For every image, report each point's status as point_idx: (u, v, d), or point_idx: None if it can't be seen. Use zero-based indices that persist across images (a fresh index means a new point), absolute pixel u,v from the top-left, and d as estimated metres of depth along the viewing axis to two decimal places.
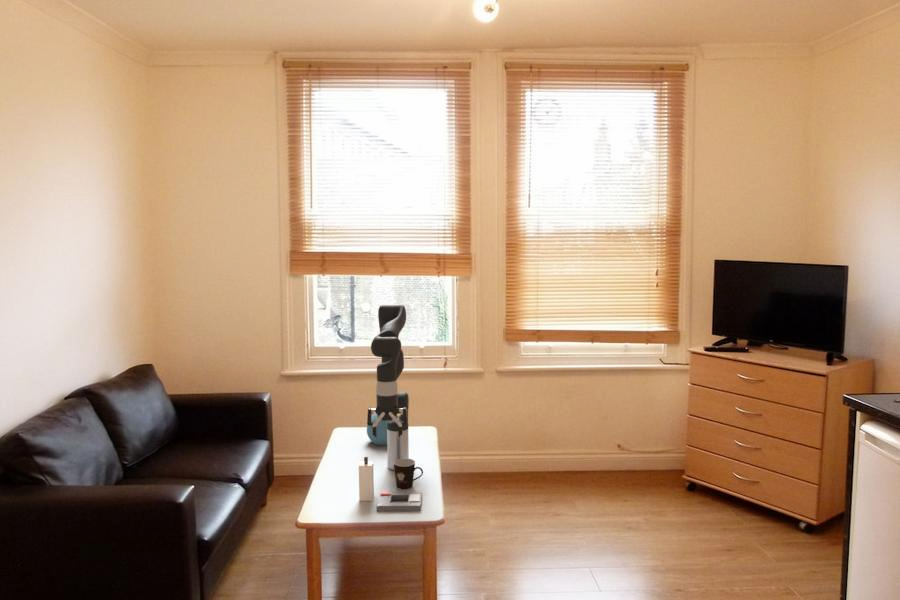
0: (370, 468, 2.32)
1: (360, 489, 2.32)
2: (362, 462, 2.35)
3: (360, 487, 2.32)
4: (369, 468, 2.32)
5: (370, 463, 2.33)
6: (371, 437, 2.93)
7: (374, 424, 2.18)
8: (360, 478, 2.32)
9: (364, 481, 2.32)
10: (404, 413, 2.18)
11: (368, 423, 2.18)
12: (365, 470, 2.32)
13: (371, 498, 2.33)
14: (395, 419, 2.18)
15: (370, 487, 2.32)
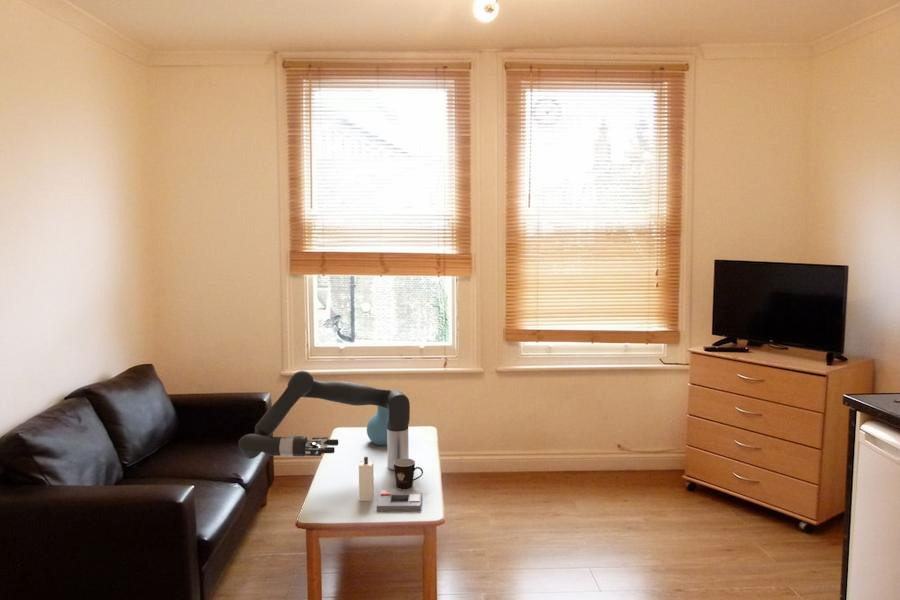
0: (370, 468, 2.32)
1: (360, 489, 2.32)
2: (362, 462, 2.35)
3: (360, 487, 2.32)
4: (369, 468, 2.32)
5: (370, 463, 2.34)
6: (371, 437, 2.93)
7: None
8: (360, 478, 2.32)
9: (364, 481, 2.32)
10: None
11: None
12: (365, 470, 2.32)
13: (371, 498, 2.33)
14: None
15: (370, 487, 2.32)
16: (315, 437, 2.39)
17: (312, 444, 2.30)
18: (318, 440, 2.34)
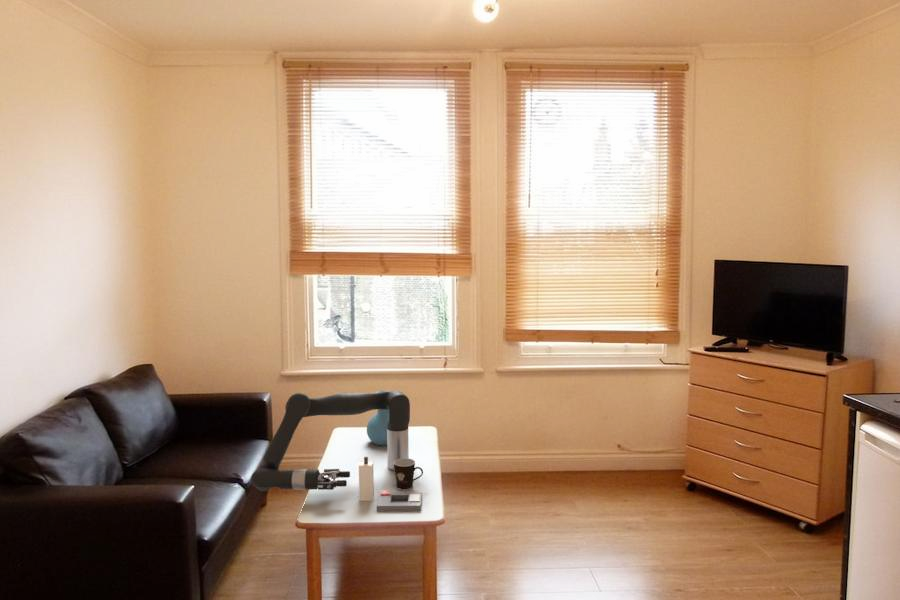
0: (370, 468, 2.32)
1: (360, 489, 2.32)
2: (362, 462, 2.35)
3: (360, 487, 2.32)
4: (369, 468, 2.32)
5: (370, 463, 2.34)
6: (371, 437, 2.93)
7: None
8: (360, 478, 2.32)
9: (364, 481, 2.32)
10: None
11: None
12: (365, 470, 2.32)
13: (371, 498, 2.33)
14: None
15: (370, 487, 2.32)
16: (327, 469, 2.40)
17: (324, 477, 2.32)
18: (330, 473, 2.36)
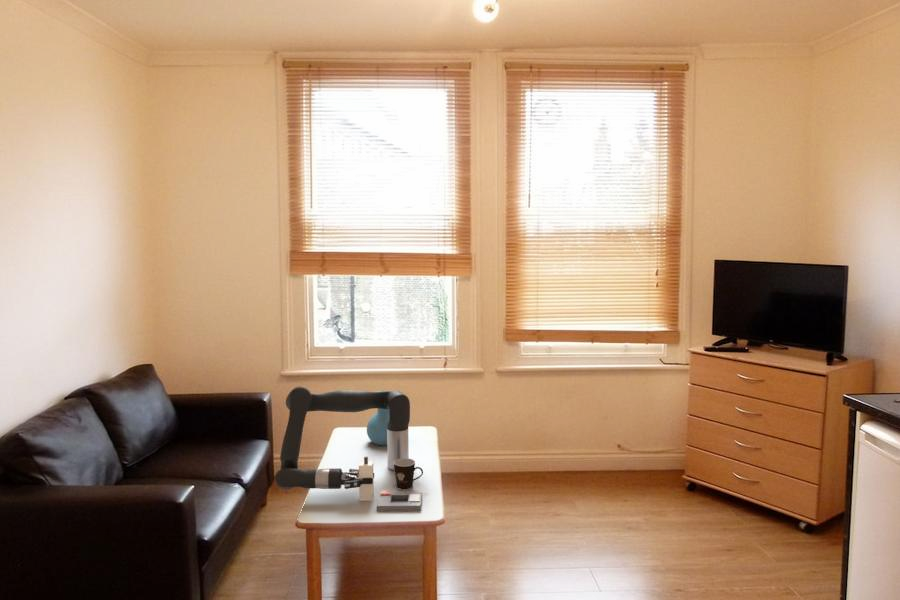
0: (370, 468, 2.32)
1: (360, 489, 2.32)
2: (362, 462, 2.35)
3: (360, 487, 2.32)
4: (369, 468, 2.32)
5: (370, 463, 2.34)
6: (371, 437, 2.93)
7: None
8: None
9: None
10: None
11: None
12: (365, 470, 2.32)
13: (371, 498, 2.33)
14: None
15: (370, 487, 2.32)
16: (352, 469, 2.40)
17: (348, 476, 2.32)
18: (353, 473, 2.35)
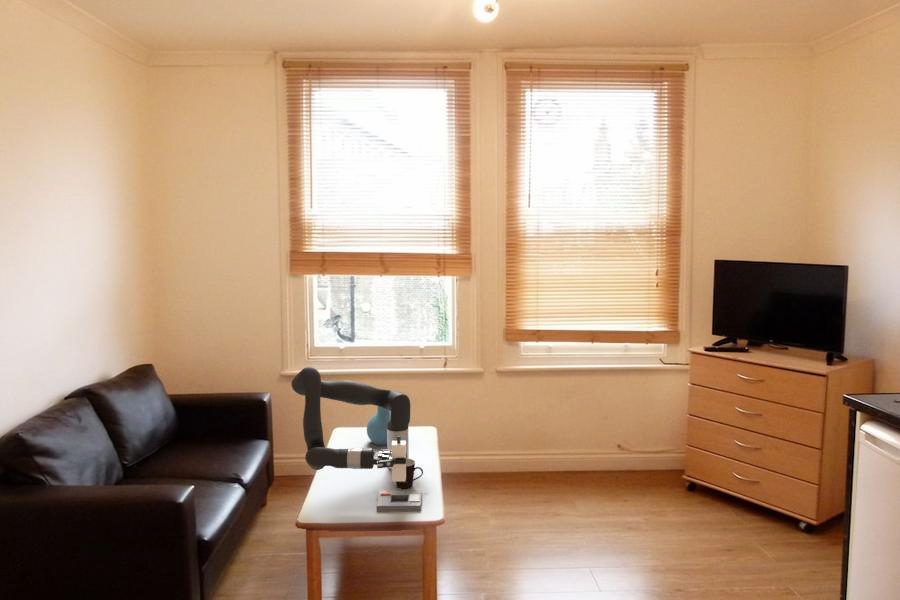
0: (403, 447, 2.26)
1: (393, 469, 2.27)
2: (395, 441, 2.29)
3: (393, 467, 2.26)
4: (402, 447, 2.26)
5: (403, 442, 2.28)
6: (371, 437, 2.93)
7: None
8: None
9: None
10: None
11: None
12: (398, 449, 2.26)
13: (404, 478, 2.27)
14: None
15: (403, 467, 2.26)
16: (383, 449, 2.34)
17: (381, 456, 2.26)
18: (385, 453, 2.29)
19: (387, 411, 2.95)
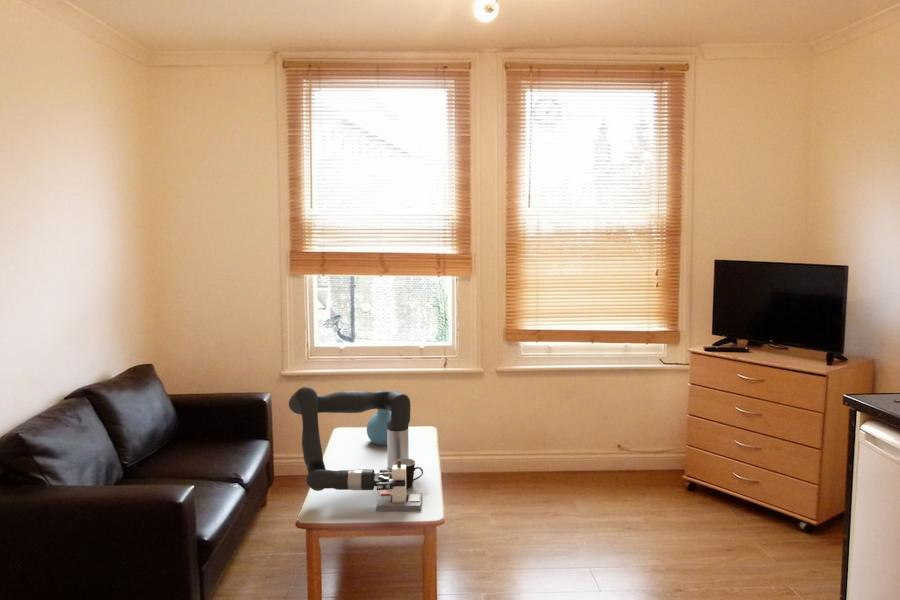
0: (403, 472, 2.27)
1: (393, 493, 2.28)
2: (395, 466, 2.30)
3: (393, 491, 2.28)
4: (402, 472, 2.27)
5: (403, 467, 2.29)
6: (371, 437, 2.93)
7: None
8: None
9: None
10: None
11: None
12: (398, 473, 2.27)
13: None
14: None
15: (403, 491, 2.28)
16: None
17: (381, 478, 2.27)
18: (386, 473, 2.31)
19: (387, 411, 2.95)
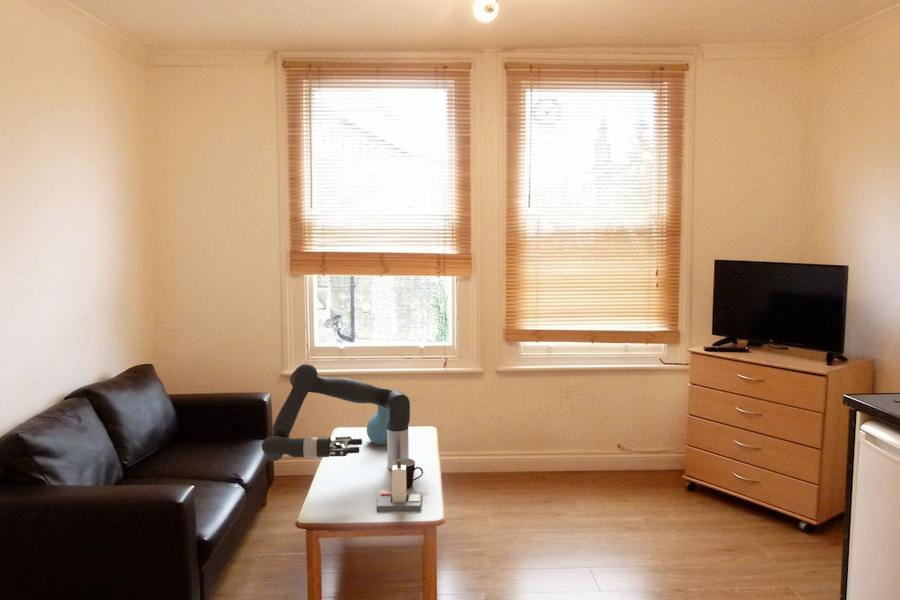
0: (403, 472, 2.27)
1: (393, 493, 2.28)
2: (395, 466, 2.30)
3: (393, 491, 2.27)
4: (402, 472, 2.27)
5: (403, 467, 2.29)
6: (371, 437, 2.93)
7: None
8: (393, 482, 2.27)
9: (397, 485, 2.27)
10: None
11: None
12: (398, 474, 2.27)
13: None
14: None
15: (403, 491, 2.27)
16: (338, 437, 2.36)
17: (336, 444, 2.27)
18: (342, 440, 2.31)
19: (387, 411, 2.95)
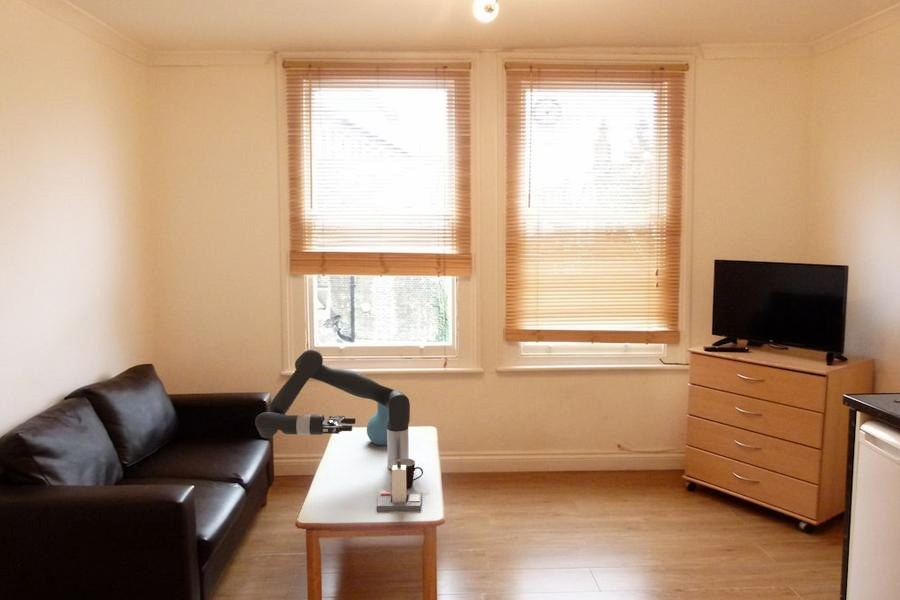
0: (403, 472, 2.27)
1: (393, 493, 2.28)
2: (395, 466, 2.30)
3: (393, 491, 2.27)
4: (402, 472, 2.27)
5: (403, 467, 2.29)
6: (371, 437, 2.93)
7: None
8: (393, 482, 2.27)
9: (397, 485, 2.27)
10: None
11: None
12: (398, 474, 2.27)
13: None
14: None
15: (403, 491, 2.27)
16: (332, 416, 2.36)
17: (329, 422, 2.27)
18: (335, 418, 2.31)
19: (387, 411, 2.95)
